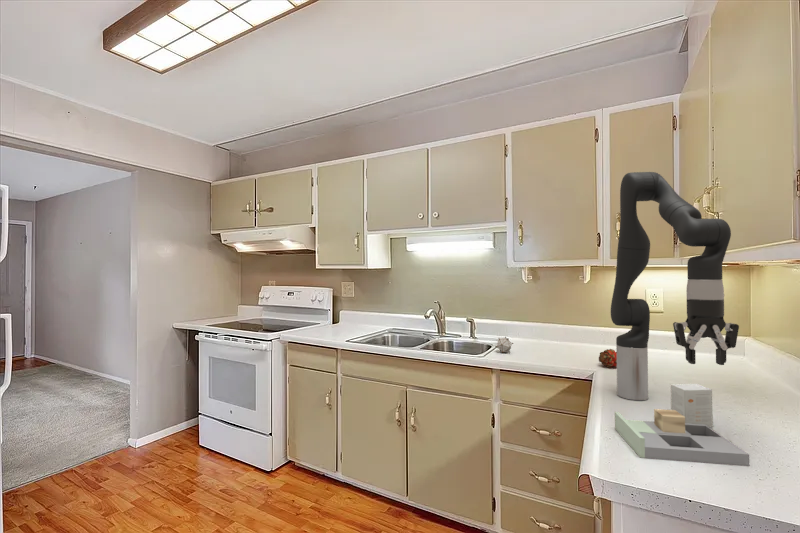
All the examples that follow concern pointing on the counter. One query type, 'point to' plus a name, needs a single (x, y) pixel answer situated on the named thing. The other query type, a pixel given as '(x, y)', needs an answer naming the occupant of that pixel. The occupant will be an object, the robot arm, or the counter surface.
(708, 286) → the robot arm
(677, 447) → the grey slotted tray
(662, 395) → the counter surface
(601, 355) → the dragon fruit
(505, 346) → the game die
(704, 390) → the small box
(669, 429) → the block
